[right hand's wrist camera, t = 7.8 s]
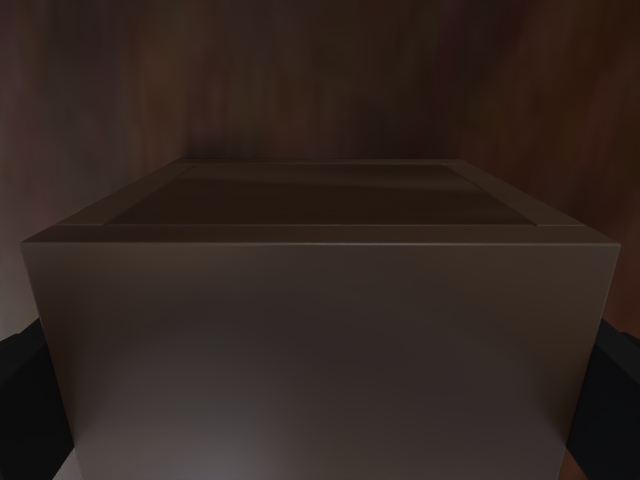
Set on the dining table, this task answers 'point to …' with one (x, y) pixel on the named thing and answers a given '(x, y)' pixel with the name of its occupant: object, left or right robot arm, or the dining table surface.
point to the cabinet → (320, 322)
